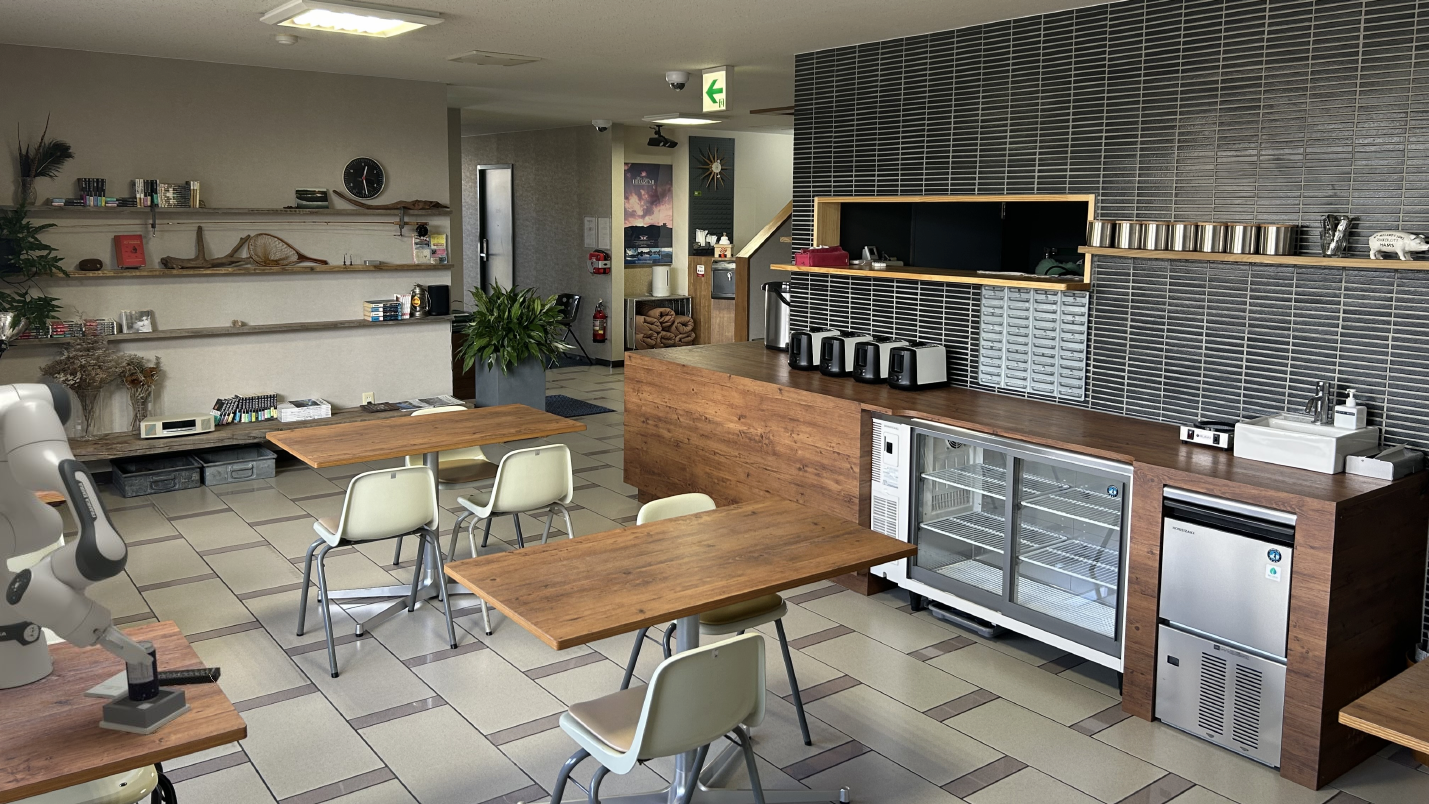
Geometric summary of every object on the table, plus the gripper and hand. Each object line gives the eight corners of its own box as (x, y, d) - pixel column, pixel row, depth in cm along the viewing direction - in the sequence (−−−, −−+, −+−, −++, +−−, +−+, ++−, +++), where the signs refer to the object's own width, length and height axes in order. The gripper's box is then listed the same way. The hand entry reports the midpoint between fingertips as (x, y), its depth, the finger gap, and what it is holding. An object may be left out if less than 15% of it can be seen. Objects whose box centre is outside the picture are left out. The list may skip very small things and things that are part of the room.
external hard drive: (156, 678, 242) (116, 701, 230) (125, 675, 244) (84, 698, 231) (156, 672, 242) (115, 694, 230) (125, 668, 243) (83, 691, 231)
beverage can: (166, 696, 222) (161, 642, 220) (142, 707, 217) (137, 652, 215) (147, 691, 224) (142, 638, 222) (123, 702, 219) (117, 648, 217)
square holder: (99, 727, 217) (97, 706, 216) (145, 702, 228) (143, 682, 228) (147, 734, 214) (145, 714, 213) (190, 709, 225) (189, 689, 224)
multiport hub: (153, 681, 240) (152, 671, 240) (221, 676, 243) (220, 666, 243) (147, 689, 236) (146, 679, 235) (216, 684, 239) (215, 674, 238)
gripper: (116, 624, 205) (173, 657, 213) (82, 599, 219) (137, 631, 227) (92, 652, 202) (151, 684, 211) (60, 625, 216) (117, 656, 225)
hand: (144, 656), depth 219 cm, fingers closed on beverage can, 6 cm apart
